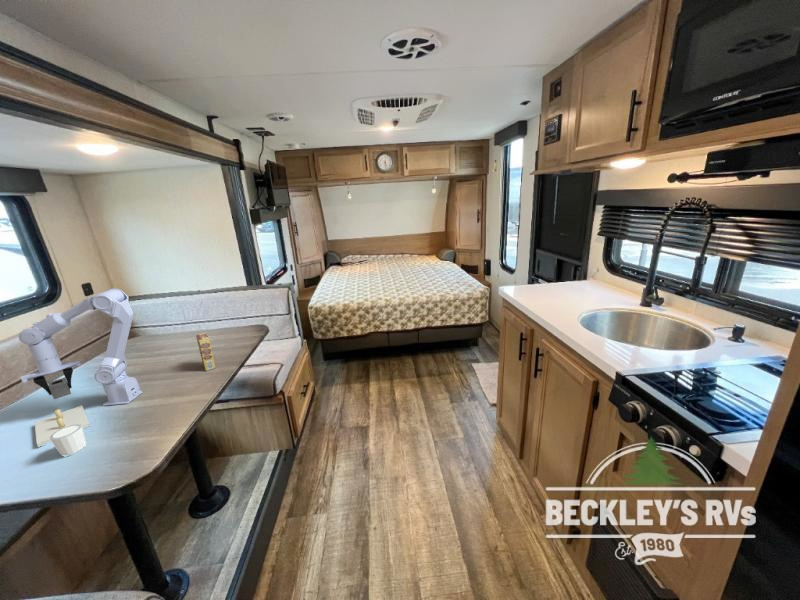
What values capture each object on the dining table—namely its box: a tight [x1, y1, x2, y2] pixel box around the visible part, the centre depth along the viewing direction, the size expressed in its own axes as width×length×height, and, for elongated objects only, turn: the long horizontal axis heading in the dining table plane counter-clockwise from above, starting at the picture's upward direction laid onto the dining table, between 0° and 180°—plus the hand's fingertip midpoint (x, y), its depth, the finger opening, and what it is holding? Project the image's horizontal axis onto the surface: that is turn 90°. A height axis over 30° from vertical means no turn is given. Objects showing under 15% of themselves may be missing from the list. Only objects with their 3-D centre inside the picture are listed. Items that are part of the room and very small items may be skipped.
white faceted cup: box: [50, 424, 87, 456], centre depth 94 cm, size 7×7×7 cm
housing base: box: [34, 405, 91, 448], centre depth 107 cm, size 18×12×5 cm, turn 51°
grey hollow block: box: [47, 376, 72, 400], centre depth 114 cm, size 6×4×5 cm
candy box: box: [195, 332, 216, 371], centre depth 142 cm, size 9×4×15 cm, turn 39°
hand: (60, 390), depth 115 cm, fingers closed on grey hollow block, 4 cm apart
